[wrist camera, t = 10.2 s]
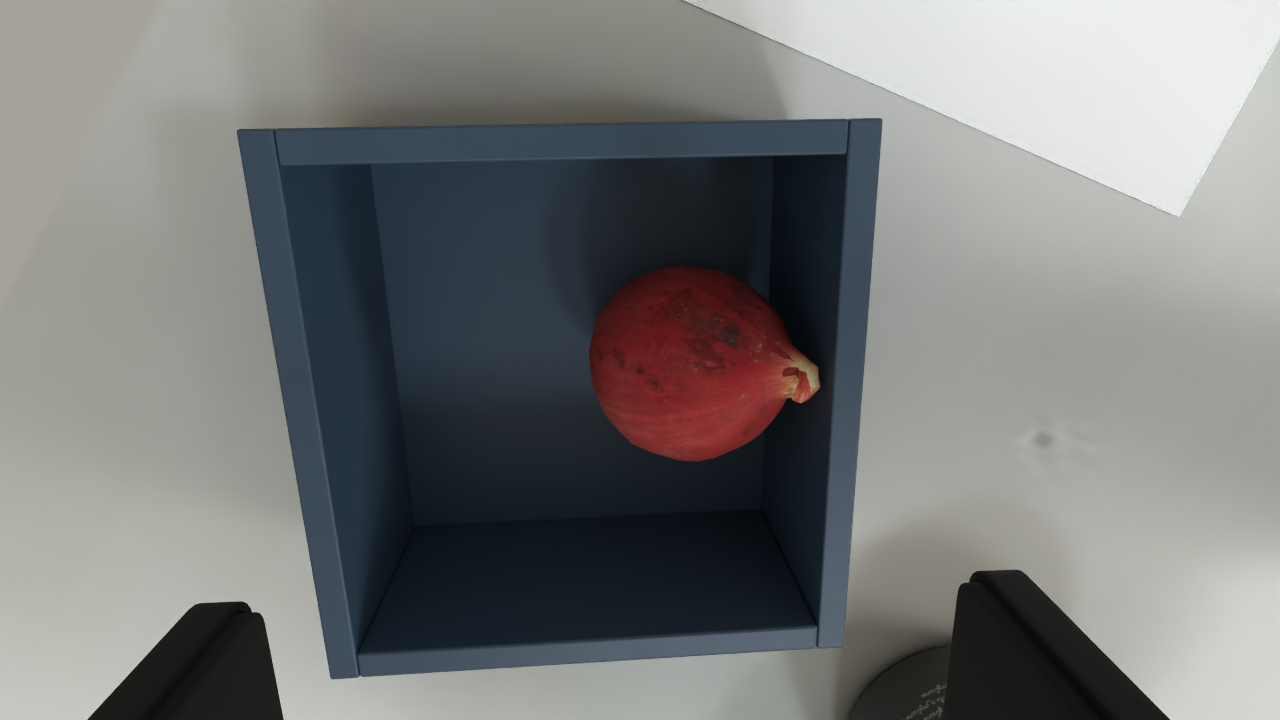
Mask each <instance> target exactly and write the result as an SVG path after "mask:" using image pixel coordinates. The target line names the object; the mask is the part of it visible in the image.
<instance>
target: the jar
mask: <svg viewBox="0 0 1280 720" xmlns="http://www.w3.org/2000/svg"><path fill="white" fill-rule="evenodd" d="M950 652H951V646H944V647H938V648H933V649H929V650H925V651H922V652H919V653H916V654H914V655H911V656H909V657H907V658H905V659H903V660H901V661H899V662H897V663H896V664H894V665H892V666H891V667H889V668H888V669H887V670H885V671H884V672H883V673H881V674H880V675H879V676H878V677H877V678H876V679H875V680H874V681H873V682H872V683H871V684H870V685H869V686H868V687H867V689H866V690H865V691H864V693H863V694H862V695H861V697H860V698H859V700H858V702H857V704H856V706H855V708H854V709H853V711H852V713H851V716H850V718H849V720H942V717H943V709H944V701H945V693H946V684H947V676H948V668H949V660H950Z"/></svg>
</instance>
